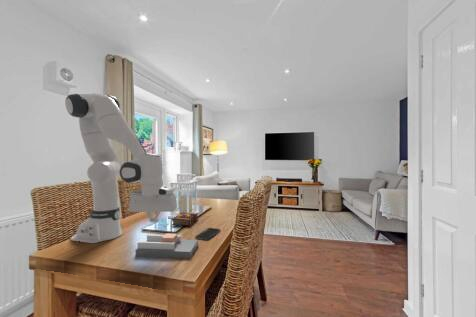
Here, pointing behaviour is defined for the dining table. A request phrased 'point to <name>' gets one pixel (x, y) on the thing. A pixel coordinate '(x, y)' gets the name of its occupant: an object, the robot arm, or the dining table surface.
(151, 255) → the channel
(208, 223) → the dining table surface
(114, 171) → the robot arm
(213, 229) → the phone
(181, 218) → the decorative book
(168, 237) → the block
